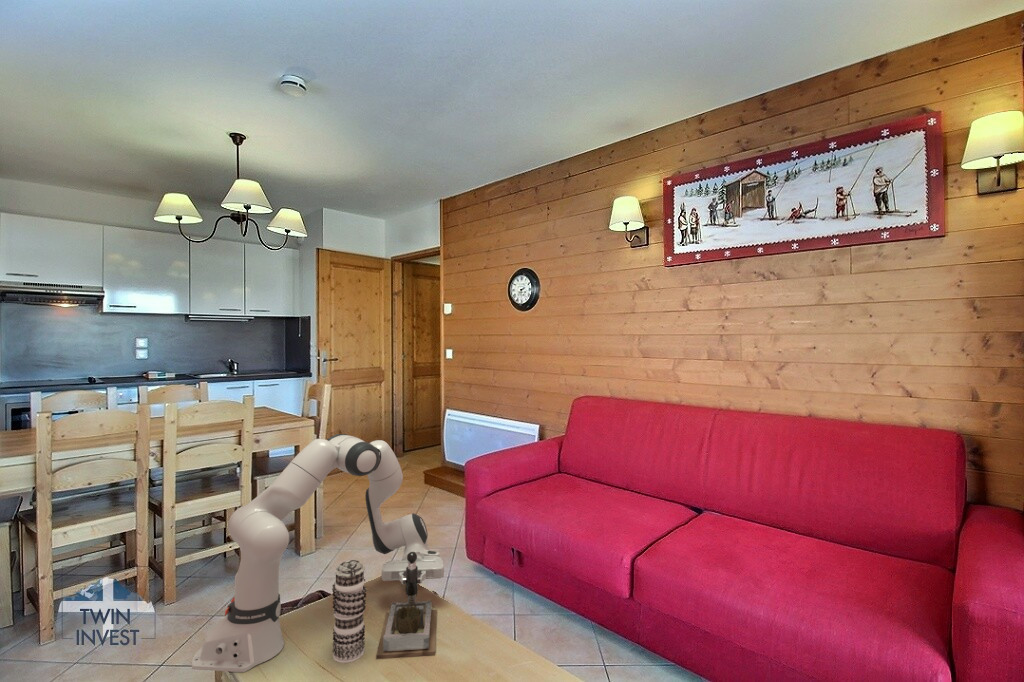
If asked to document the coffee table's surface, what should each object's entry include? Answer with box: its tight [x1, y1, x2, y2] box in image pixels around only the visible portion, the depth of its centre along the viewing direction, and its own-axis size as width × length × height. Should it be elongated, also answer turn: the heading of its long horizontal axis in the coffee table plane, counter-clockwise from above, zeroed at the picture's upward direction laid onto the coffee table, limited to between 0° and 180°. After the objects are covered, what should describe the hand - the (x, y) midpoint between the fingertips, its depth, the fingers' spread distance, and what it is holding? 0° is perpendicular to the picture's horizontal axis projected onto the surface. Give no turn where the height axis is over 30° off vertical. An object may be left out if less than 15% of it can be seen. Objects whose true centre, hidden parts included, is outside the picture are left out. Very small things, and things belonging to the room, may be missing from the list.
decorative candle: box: [331, 559, 367, 664], centre depth 137 cm, size 9×9×25 cm
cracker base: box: [375, 606, 438, 660], centre depth 146 cm, size 16×22×6 cm
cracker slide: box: [383, 552, 432, 652], centre depth 147 cm, size 12×21×19 cm, turn 7°
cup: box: [396, 605, 421, 634], centre depth 144 cm, size 8×7×8 cm
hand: (411, 581), depth 155 cm, fingers closed on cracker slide, 3 cm apart
